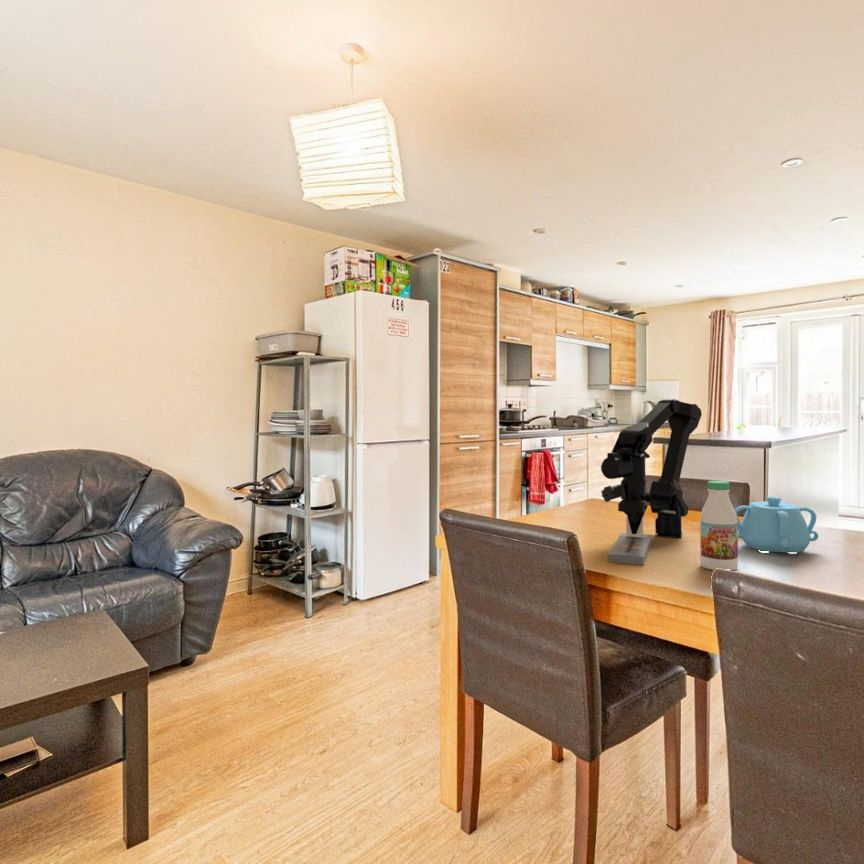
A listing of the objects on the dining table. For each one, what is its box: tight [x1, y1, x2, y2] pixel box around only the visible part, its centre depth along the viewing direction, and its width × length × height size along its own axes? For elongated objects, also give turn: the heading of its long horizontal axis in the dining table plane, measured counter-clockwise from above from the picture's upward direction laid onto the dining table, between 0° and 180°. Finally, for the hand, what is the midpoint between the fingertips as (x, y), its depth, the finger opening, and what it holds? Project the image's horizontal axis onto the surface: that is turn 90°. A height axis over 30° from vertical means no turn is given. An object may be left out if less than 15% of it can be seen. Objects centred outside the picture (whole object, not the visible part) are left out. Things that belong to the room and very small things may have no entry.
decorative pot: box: [734, 496, 819, 553], centre depth 142 cm, size 16×16×14 cm
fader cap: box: [625, 517, 644, 538], centre depth 151 cm, size 4×3×5 cm
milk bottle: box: [699, 480, 739, 571], centre depth 128 cm, size 8×8×20 cm
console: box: [607, 532, 653, 566], centre depth 144 cm, size 8×24×2 cm, turn 154°
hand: (634, 532), depth 151 cm, fingers closed on fader cap, 3 cm apart
